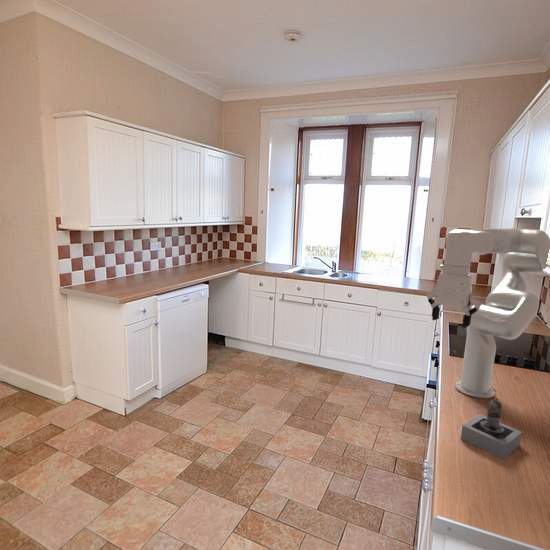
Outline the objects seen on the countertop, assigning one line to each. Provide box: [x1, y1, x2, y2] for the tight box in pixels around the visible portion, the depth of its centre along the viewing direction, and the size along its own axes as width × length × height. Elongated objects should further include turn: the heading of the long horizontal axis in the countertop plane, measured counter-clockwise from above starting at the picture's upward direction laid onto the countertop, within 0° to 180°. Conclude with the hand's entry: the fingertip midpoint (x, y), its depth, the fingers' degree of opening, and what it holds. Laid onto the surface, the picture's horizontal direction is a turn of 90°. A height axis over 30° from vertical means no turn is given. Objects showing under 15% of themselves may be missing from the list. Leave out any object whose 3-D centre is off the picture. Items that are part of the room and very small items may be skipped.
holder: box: [460, 414, 523, 460], centre depth 105 cm, size 11×11×4 cm
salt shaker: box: [480, 397, 504, 440], centre depth 104 cm, size 6×6×12 cm
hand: (449, 323), depth 122 cm, fingers open, 9 cm apart
